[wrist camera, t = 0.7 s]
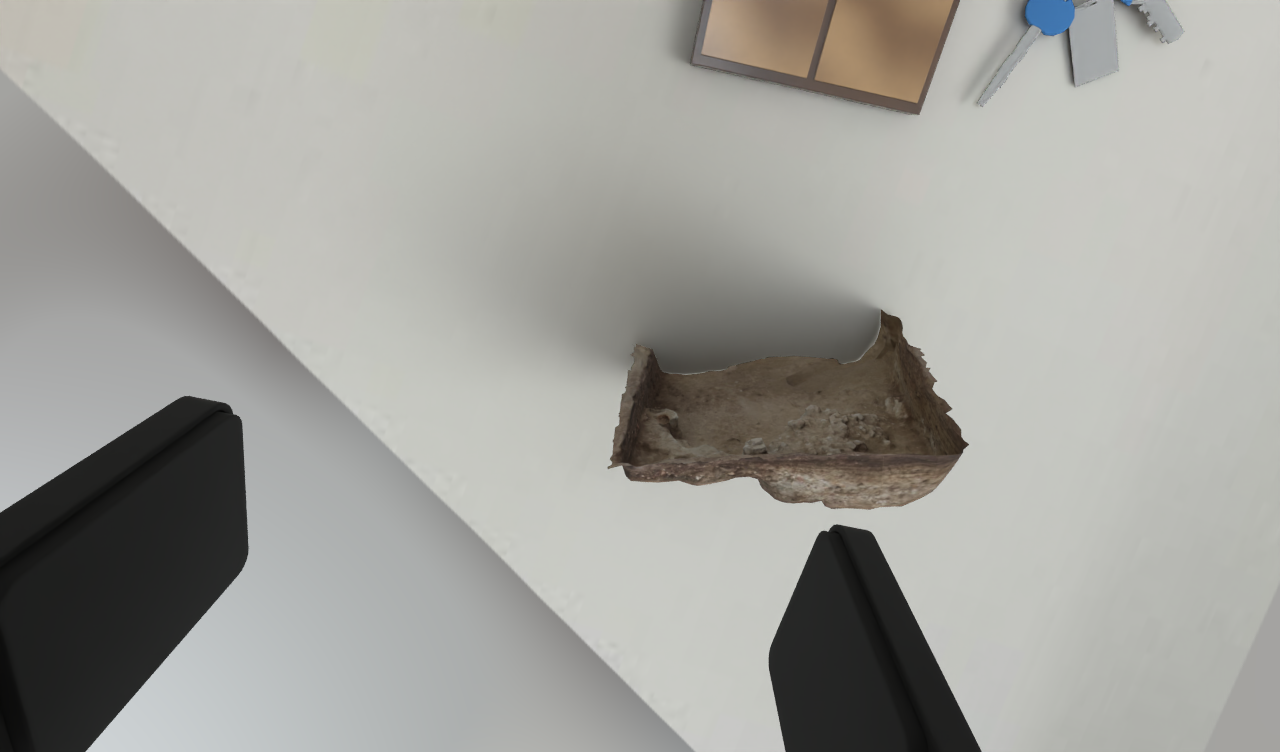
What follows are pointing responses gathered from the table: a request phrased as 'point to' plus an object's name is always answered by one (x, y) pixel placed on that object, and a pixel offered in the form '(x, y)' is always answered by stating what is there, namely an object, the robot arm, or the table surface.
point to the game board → (829, 46)
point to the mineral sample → (794, 426)
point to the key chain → (1083, 35)
